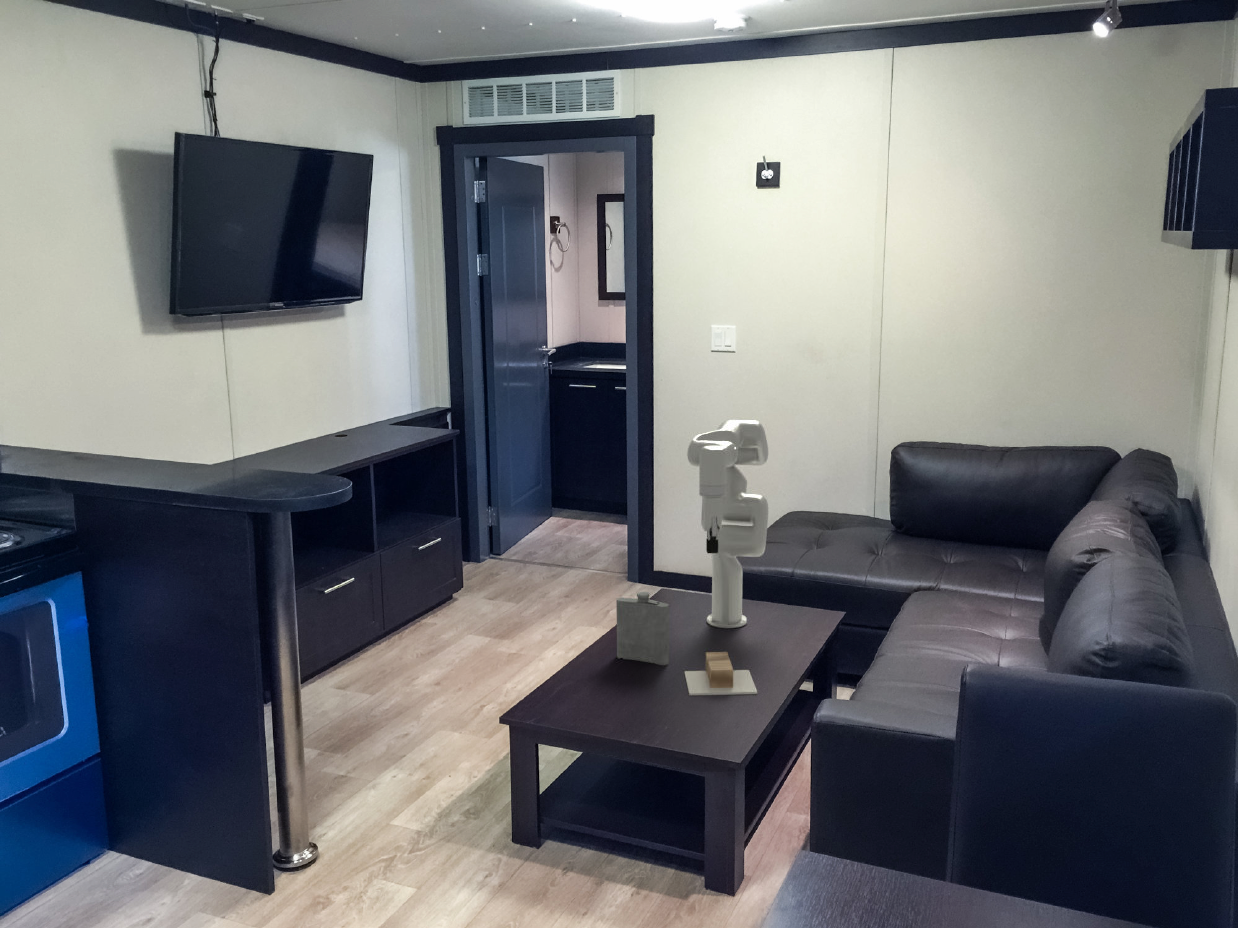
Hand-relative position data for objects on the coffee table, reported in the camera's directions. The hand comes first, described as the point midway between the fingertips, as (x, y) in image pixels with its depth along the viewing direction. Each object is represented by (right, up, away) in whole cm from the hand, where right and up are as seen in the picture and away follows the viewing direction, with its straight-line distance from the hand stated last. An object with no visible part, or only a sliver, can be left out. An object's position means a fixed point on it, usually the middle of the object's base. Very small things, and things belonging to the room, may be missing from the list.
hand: (712, 552), depth 301 cm
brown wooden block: (+1, -30, -6) cm, 30 cm away
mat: (+1, -34, -14) cm, 37 cm away
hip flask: (-20, -31, +4) cm, 37 cm away
